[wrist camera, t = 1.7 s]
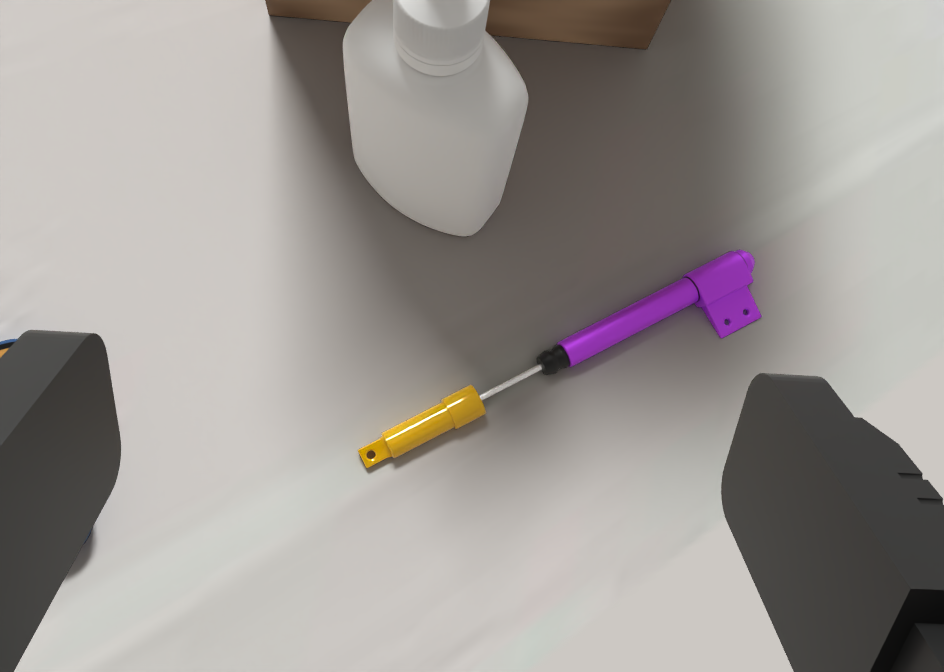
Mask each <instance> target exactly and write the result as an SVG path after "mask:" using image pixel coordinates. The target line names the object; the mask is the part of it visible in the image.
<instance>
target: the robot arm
mask: <svg viewBox="0 0 944 672" xmlns="http://www.w3.org/2000/svg"><path fill="white" fill-rule="evenodd" d="M120 458H121V440H120V432H119V426H118V420H117V414H116V407H115V401H114V395H113V389H112V382H111V376H110V370H109V363H108V357H107V352H106V348H105V345H104V342H103V340H102V339H101V337H100V336H99V335H97V334H94V333H78V332H61V331H43V330H28V331H26V332H25V333H23V334H22V335H21V336H20V337H19V338H18V339H17V340H16V342H15V343H14V344H13V345H12V346H11V347H10V348H9V349H8V350H7V351H6V352H5V353H4V354H3V355H2V357H1V358H0V672H14V670H15V668H16V666H17V665H18V663H19V661H20V659H21V657H22V655H23V654H24V652H25V650H26V648H27V646H28V644H29V643H30V641H31V639H32V637H33V635H34V633H35V632H36V630H37V628H38V626H39V624H40V622H41V621H42V619H43V617H44V615H45V613H46V611H47V610H48V608H49V606H50V604H51V602H52V600H53V599H54V597H55V595H56V593H57V591H58V589H59V587H60V586H61V584H62V582H63V580H64V578H65V576H66V575H67V573H68V571H69V569H70V567H71V565H72V564H73V562H74V560H75V558H76V556H77V554H78V553H79V551H80V549H81V547H82V545H83V543H84V542H85V540H86V538H87V536H88V534H89V532H90V531H91V529H92V527H93V525H94V523H95V521H96V520H97V518H98V516H99V514H100V512H101V510H102V509H103V507H104V505H105V503H106V501H107V499H108V498H109V496H110V494H111V492H112V490H113V488H114V485H115V482H116V479H117V476H118V471H119V466H120ZM721 494H722V505H723V510H724V514H725V518H726V520H727V522H728V525H729V527H730V529H731V532H732V534H733V536H734V538H735V540H736V543H737V545H738V547H739V550H740V552H741V554H742V556H743V559H744V561H745V563H746V565H747V567H748V570H749V572H750V574H751V577H752V579H753V581H754V583H755V586H756V587H757V590H758V592H759V594H760V597H761V599H762V601H763V603H764V605H765V608H766V610H767V612H768V614H769V617H770V619H771V621H772V624H773V626H774V628H775V630H776V633H777V635H778V637H779V639H780V642H781V644H782V646H783V648H784V651H785V653H786V655H787V657H788V660H789V662H790V664H791V666H792V669H793V671H794V672H944V505H943V502H942V501H943V498H942V497H941V496H940V495H939V493H938V492H937V491H936V490H935V488H934V487H933V486H932V485H931V484H930V482H929V481H928V480H923V479H922V472H921V471H920V470H919V469H918V468H917V466H916V465H915V464H914V463H913V461H912V460H911V459H910V458H909V457H908V455H907V454H906V453H905V452H904V450H903V449H902V448H901V447H900V446H899V444H898V443H896V442H895V441H893V440H892V439H891V438H889V437H888V436H886V435H885V434H884V433H882V432H880V431H879V430H878V429H876V428H875V427H874V426H872V425H871V424H870V423H868V422H867V421H865V420H864V419H863V418H855V417H854V416H853V415H852V413H851V412H850V411H849V409H848V408H847V407H846V406H845V404H844V403H843V402H842V400H841V399H840V398H839V397H838V395H837V394H836V393H835V391H834V390H833V389H832V387H831V386H830V385H829V384H828V382H827V381H826V380H825V379H823V378H822V377H818V376H802V375H784V374H767V373H761V374H758V375H757V376H756V377H755V378H754V379H753V380H752V382H751V384H750V386H749V388H748V391H747V394H746V398H745V401H744V404H743V408H742V411H741V414H740V417H739V421H738V424H737V427H736V431H735V434H734V437H733V441H732V444H731V447H730V450H729V454H728V457H727V460H726V464H725V467H724V471H723V476H722V487H721Z"/></svg>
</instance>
